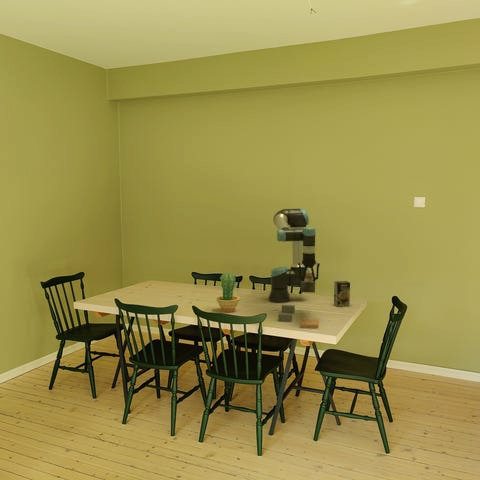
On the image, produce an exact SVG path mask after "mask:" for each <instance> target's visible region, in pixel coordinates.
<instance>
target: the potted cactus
mask: <svg viewBox="0 0 480 480" xmlns="http://www.w3.org/2000/svg"><path fill="white" fill-rule="evenodd" d="M219 279H220V282H221V283H220V284H221V288H222V296H218V297H216V302H217V303H218V305H219V307H220V308H221V310H222V311H221V312H223V311H227V312H226V313H233V312H235V311H236V308H237V306H238V304H239V302H240V301H241V300H240V297H239V296H236V295H233V293H234V289H235V287H236V277H235V276H234V275H233V273H232V272H227V271H226V272H224V273H223V274H221V276H220V277H219ZM232 311H233V312H232Z"/></svg>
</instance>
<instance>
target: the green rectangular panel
mask: <svg viewBox="0 0 480 480" xmlns="http://www.w3.org/2000/svg"><path fill="white" fill-rule="evenodd" d="M299 324H300V327H299V328H300V329H316V328H318V329H319V325H320V320H319V318H301V321H300V323H299Z"/></svg>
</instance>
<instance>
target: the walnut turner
mask: <svg viewBox="0 0 480 480" xmlns="http://www.w3.org/2000/svg"><path fill="white" fill-rule="evenodd" d="M312 280H313V276H312V272H309V273H306V277H305V281H301V286H300V292H301V293H311V294H312V293H314V294H315V293H316V281H315V282H312Z"/></svg>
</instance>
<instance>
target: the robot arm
mask: <svg viewBox="0 0 480 480" xmlns="http://www.w3.org/2000/svg"><path fill="white" fill-rule="evenodd" d="M272 221H273V224H274V226H275V227H276V228H277V230H276V240H277V242H285V243H286V242H292V245H291V246H292V247H291V248H292V255H291V256H292V264H291V265H290V268H288V267H287V266H279V267H274V268H272V269H271V272H270V273H271V274H270V277H271V278H270V284H271V286H270V287H271V288H270V289H271V290H270V292H269V295H268V301H269V302H271V303H278V304H279V303H280V304H281V303H282V304H283V303H284V304H285V303H289V302H291V296H290V295H291V294H290V293H289V289H288V287H289V286H291V287H292V286H295V287H296V286H297V287H298V286H300V287H301V281H305V277H306V273H310V272H311V273H312V276H313V280H312V282H315V283H316V281H317V280H318V279H319V269H320V266H321V263H320V262H317V261H316V228H315V227H313V226H308V225H309V224H310V222H309V221H310V220H309V214H308V211H307V210H306V209H305V208H283V209H280V210H278V211H277V212H276V213H275V214H274V216H273V219H272ZM314 266H316V274H315V271H314ZM310 270H311V271H310Z"/></svg>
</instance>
